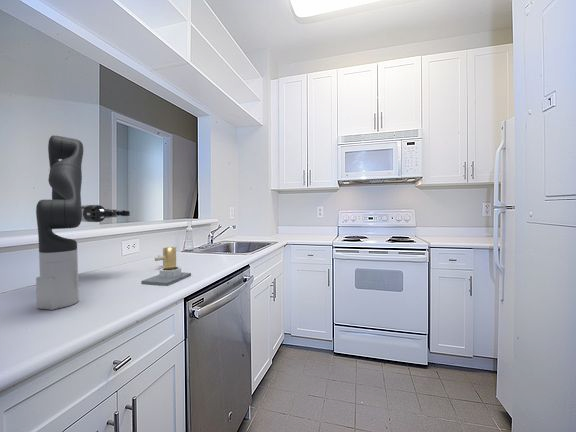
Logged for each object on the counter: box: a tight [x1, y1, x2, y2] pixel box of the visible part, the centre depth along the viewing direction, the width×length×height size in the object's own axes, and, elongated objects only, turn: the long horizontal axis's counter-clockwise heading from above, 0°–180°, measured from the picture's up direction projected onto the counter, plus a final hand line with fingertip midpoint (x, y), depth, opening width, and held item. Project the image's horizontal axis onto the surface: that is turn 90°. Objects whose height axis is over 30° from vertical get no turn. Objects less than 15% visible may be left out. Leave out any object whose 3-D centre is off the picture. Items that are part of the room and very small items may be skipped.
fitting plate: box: [141, 266, 192, 287], centre depth 114 cm, size 16×12×4 cm
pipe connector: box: [154, 247, 165, 268], centre depth 136 cm, size 10×10×10 cm
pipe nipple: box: [163, 246, 177, 270], centre depth 116 cm, size 5×5×12 cm
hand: (121, 213), depth 115 cm, fingers open, 8 cm apart
